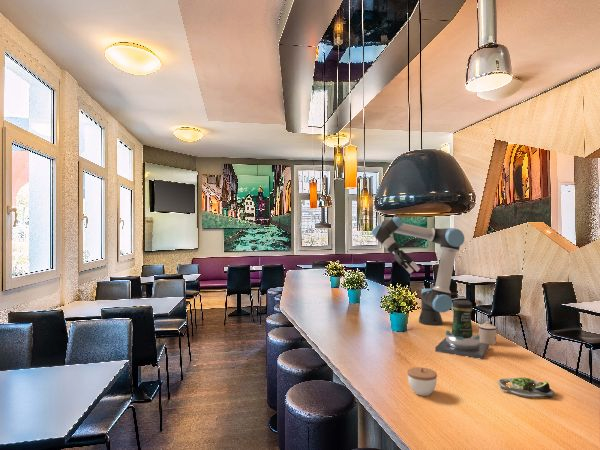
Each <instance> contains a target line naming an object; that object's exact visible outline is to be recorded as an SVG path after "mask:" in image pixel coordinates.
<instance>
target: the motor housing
mask: <svg viewBox="0 0 600 450" xmlns="http://www.w3.org/2000/svg"><path fill="white" fill-rule="evenodd" d="M434 348H435V349H434V350H435V351H434V352H439V353H442V354H443V353H444V354H448V353H449V355H454V354H456V355H455V356H460V355H461V357H465V356H468V357H467V358H471V357H474V358H473V359H477V358H480V359H479V360H483V359H484V358H483V357H485V356H486V354H487V352H488V351H489V349H490V345H489V344H485V343H480V335H479V334H473V333H472V337H461V336H454V335H453V334H452V331H450V330H446V331H445V338H443V339H442V341H441V342H439V343H438V344H437V345H436V346H435V347H434ZM488 348H489V349H488ZM487 350H488V351H487ZM484 355H485V356H484Z"/></svg>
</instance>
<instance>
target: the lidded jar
mask: <svg viewBox="0 0 600 450" xmlns="http://www.w3.org/2000/svg"><path fill="white" fill-rule="evenodd" d="M437 378H438V374H437V371H435V370H434V369H431V368H427V367H421V366H418V367H416V366H414V367H410V368H408V369H407V382H408V385H409V387H410V389H411V390H412V391H413V393H414V392H415V393H416V395H417V394H418V396H421V397H422V396H424V397H426V396H428V397H429V396H430V395H431V394H432V393H433V392H434V391H435V389H436V388H437V387H436V386H437ZM415 393H414V394H415Z"/></svg>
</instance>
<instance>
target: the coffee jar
mask: <svg viewBox="0 0 600 450" xmlns="http://www.w3.org/2000/svg"><path fill="white" fill-rule="evenodd" d="M472 303H473V302H472V301H470V300H466V299H465V300H464V299H463V300H462V299H461V300H460V299H459V300H456V299H455V300H452V307H451V309H452V312H453V313H452V314H453V315H452V316H453V319H452V327H451V332H452V334H453V335H454V336H461V337H472V334H473V327H472V311H473V304H472Z"/></svg>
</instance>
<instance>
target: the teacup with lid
mask: <svg viewBox="0 0 600 450" xmlns="http://www.w3.org/2000/svg"><path fill="white" fill-rule="evenodd" d="M477 327H478V335H480V343H485V344H489V346H494V345H493V344H495V345H496V344H497V326H495V325H493V324H491V323H490V321H484V322H483V323H481V324H478V326H477Z"/></svg>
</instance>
